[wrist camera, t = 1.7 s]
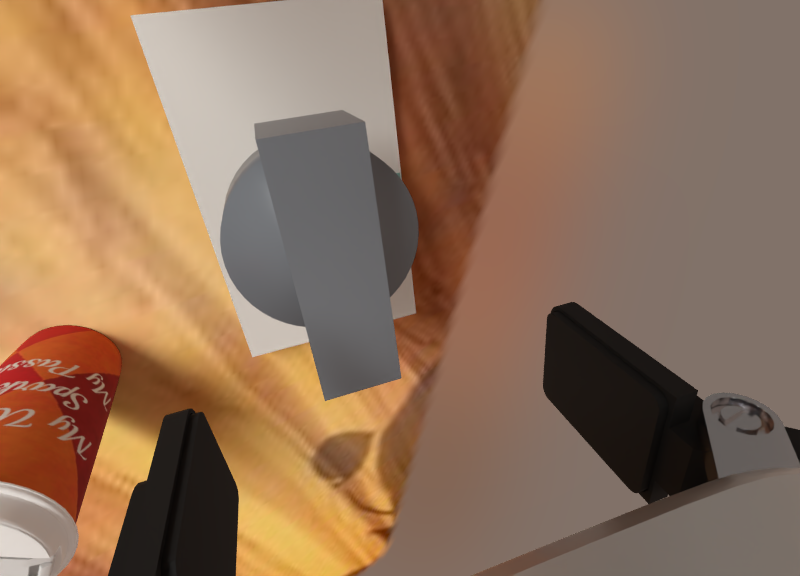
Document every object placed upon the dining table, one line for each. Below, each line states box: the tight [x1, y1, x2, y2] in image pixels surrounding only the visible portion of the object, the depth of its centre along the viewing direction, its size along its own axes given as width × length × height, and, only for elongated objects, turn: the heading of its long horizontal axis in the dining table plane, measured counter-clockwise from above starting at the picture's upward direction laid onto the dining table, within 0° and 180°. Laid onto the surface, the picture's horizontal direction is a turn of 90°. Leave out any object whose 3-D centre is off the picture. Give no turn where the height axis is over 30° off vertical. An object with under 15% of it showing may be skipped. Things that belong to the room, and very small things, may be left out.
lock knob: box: [220, 110, 419, 401], centre depth 19 cm, size 12×9×7 cm
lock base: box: [131, 0, 416, 357], centre depth 25 cm, size 20×12×6 cm, turn 6°
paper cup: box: [0, 325, 122, 576], centre depth 22 cm, size 8×8×14 cm
